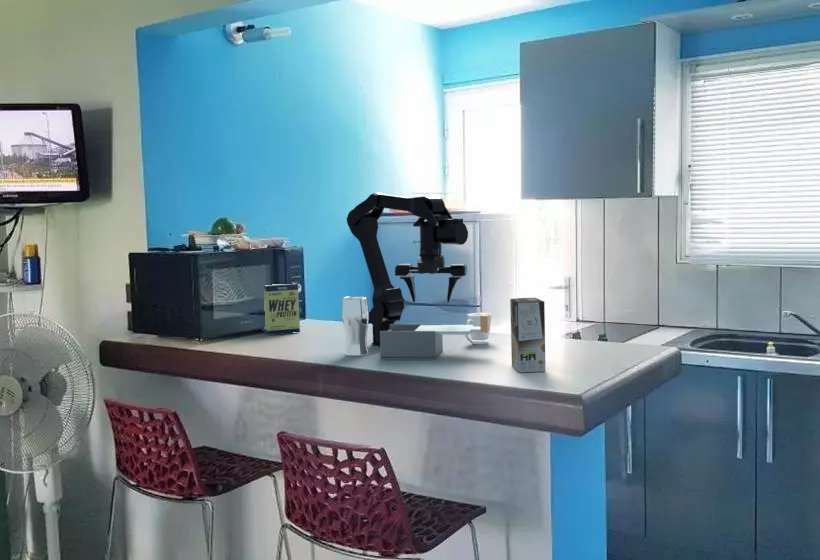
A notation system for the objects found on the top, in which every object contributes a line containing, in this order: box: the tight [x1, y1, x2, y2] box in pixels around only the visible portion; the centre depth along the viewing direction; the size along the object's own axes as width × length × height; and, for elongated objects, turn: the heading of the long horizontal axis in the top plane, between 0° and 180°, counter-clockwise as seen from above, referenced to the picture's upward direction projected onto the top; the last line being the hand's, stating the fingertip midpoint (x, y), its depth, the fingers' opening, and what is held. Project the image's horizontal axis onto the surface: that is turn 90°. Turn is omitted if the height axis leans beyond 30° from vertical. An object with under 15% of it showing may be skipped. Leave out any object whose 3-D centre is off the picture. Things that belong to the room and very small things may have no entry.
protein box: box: [263, 282, 301, 336], centre depth 257 cm, size 10×16×16 cm
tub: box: [379, 323, 444, 361], centre depth 206 cm, size 14×13×7 cm
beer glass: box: [341, 295, 370, 357], centre depth 210 cm, size 7×7×15 cm
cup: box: [464, 312, 493, 345], centre depth 221 cm, size 7×10×8 cm
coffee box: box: [509, 297, 546, 373], centre depth 184 cm, size 9×6×16 cm
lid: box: [415, 312, 490, 336], centre depth 204 cm, size 18×11×4 cm, turn 80°
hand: (431, 302), depth 214 cm, fingers open, 9 cm apart
